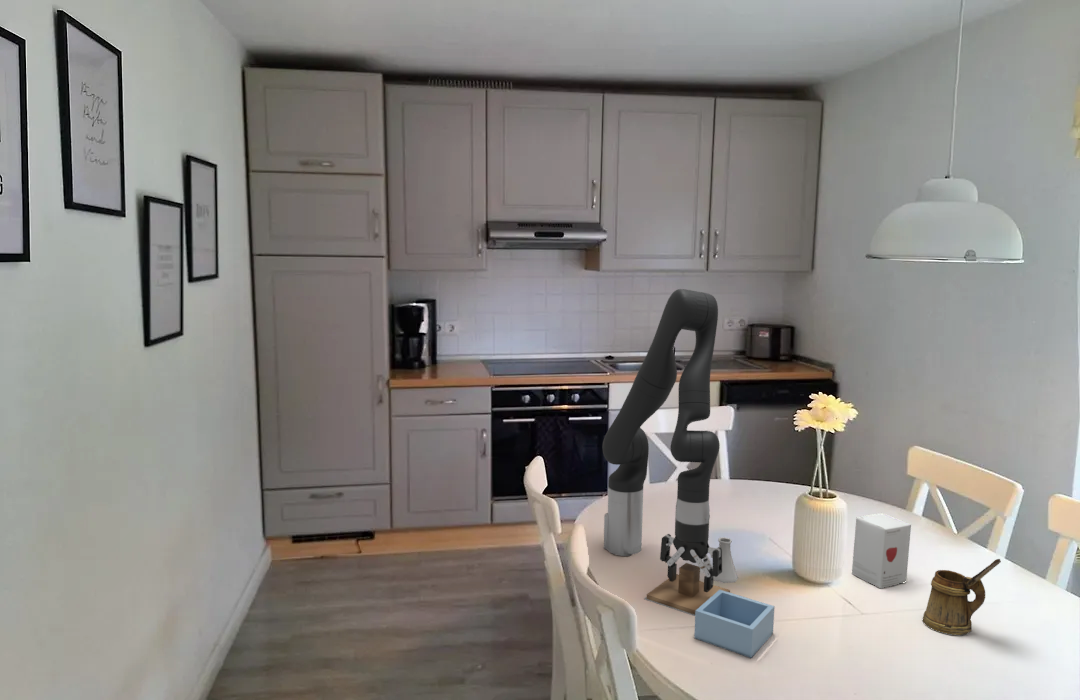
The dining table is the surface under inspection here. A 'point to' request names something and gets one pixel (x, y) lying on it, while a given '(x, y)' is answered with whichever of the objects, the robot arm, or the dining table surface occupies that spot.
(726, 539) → the flask
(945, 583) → the wooden mug
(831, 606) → the dining table surface
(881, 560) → the supplement box
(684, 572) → the walnut lid
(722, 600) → the blue storage bin
